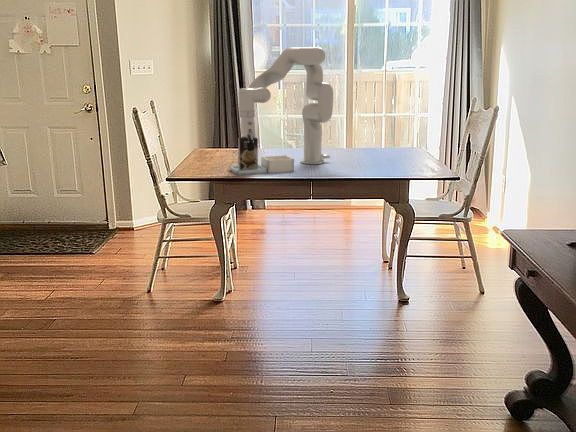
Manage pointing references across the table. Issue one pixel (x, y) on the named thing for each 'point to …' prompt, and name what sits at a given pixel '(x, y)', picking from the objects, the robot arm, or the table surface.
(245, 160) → the coffee box
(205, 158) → the table surface
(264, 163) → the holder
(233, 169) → the tray
